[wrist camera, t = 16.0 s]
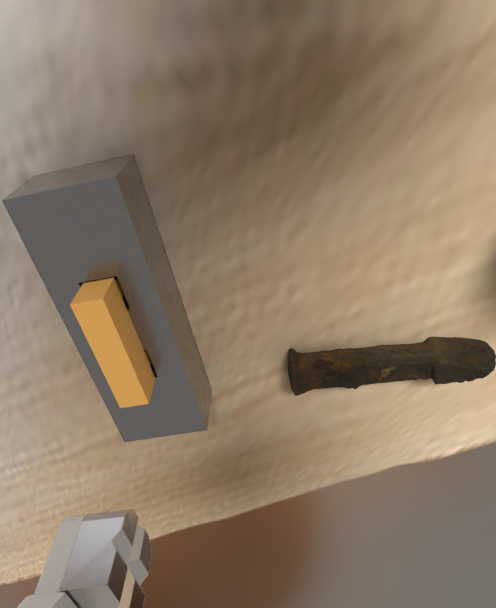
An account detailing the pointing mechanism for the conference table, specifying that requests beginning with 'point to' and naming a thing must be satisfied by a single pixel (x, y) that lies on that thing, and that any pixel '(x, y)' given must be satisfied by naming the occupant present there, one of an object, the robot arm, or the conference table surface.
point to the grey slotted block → (132, 277)
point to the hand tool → (391, 364)
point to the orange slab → (114, 341)
